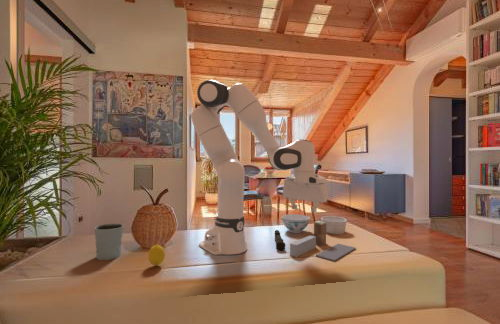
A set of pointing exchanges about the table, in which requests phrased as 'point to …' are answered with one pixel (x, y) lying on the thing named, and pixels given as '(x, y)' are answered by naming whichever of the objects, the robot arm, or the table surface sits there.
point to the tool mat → (335, 252)
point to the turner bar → (302, 246)
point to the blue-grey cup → (108, 241)
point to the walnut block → (320, 232)
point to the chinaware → (295, 222)
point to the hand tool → (279, 241)
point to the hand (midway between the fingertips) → (304, 210)
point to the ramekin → (334, 224)
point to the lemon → (156, 255)
